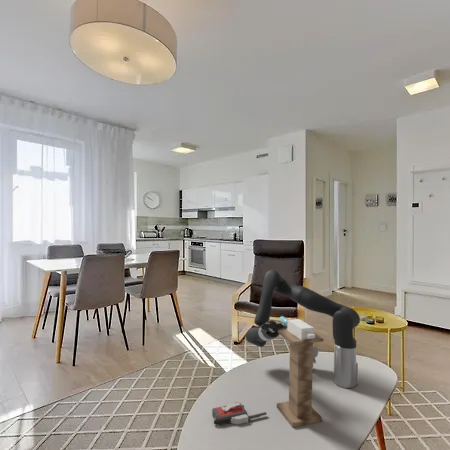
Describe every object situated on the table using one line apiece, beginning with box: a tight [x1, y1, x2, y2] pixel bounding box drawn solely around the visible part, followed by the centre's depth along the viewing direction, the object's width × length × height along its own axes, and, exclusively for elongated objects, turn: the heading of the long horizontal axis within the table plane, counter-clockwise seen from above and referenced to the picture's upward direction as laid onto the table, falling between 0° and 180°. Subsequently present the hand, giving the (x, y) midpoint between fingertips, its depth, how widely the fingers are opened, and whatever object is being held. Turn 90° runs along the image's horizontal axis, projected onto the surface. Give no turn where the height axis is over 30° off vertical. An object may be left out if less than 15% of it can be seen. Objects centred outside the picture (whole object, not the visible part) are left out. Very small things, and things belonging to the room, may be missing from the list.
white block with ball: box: [279, 315, 315, 340], centre depth 116 cm, size 5×23×4 cm, turn 17°
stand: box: [276, 329, 324, 428], centre depth 113 cm, size 12×12×30 cm
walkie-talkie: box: [211, 401, 267, 426], centre depth 111 cm, size 9×4×20 cm
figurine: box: [312, 344, 319, 369], centre depth 149 cm, size 8×8×12 cm
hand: (283, 322), depth 125 cm, fingers open, 8 cm apart
